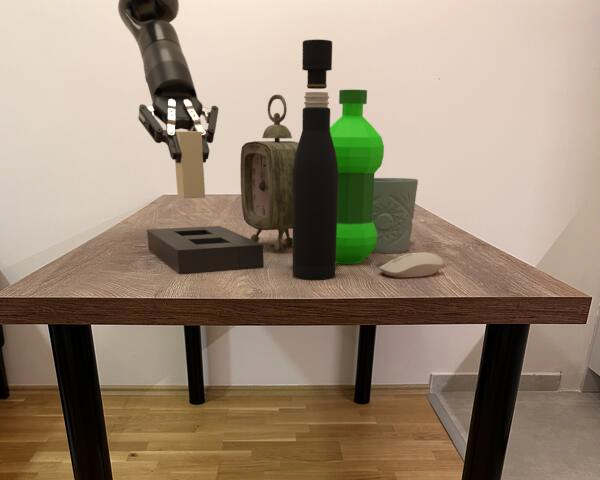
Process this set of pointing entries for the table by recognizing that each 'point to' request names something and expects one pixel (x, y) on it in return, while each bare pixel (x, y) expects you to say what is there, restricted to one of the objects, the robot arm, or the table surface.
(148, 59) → the robot arm
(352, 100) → the plastic bottle
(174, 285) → the table surface
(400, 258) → the computer mouse
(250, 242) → the base
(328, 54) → the black insulated flask
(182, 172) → the tan wooden block
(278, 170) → the tabletop clock
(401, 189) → the drinking glass
